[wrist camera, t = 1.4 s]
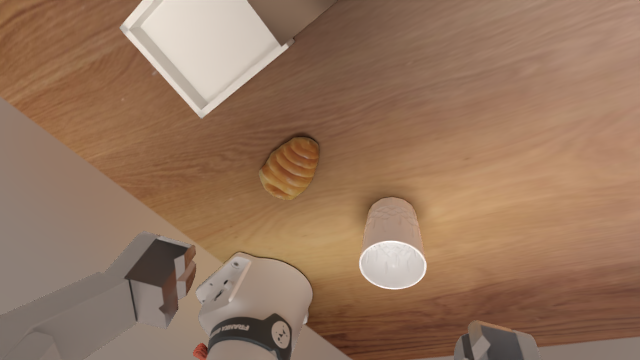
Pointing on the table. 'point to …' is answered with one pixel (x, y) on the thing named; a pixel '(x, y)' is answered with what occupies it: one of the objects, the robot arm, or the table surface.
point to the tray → (203, 46)
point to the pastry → (290, 168)
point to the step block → (288, 15)
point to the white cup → (392, 245)
